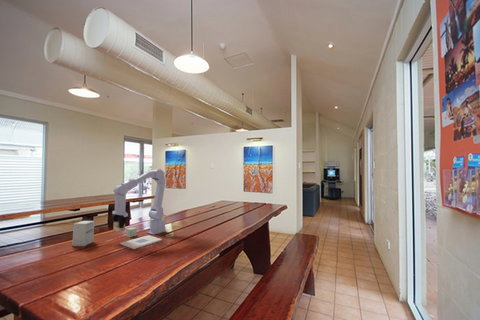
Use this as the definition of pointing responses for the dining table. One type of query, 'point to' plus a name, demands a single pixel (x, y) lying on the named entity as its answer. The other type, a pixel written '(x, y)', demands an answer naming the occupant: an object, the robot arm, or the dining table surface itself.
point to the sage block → (131, 232)
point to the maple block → (117, 226)
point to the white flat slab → (140, 242)
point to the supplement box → (83, 233)
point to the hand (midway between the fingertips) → (119, 227)
